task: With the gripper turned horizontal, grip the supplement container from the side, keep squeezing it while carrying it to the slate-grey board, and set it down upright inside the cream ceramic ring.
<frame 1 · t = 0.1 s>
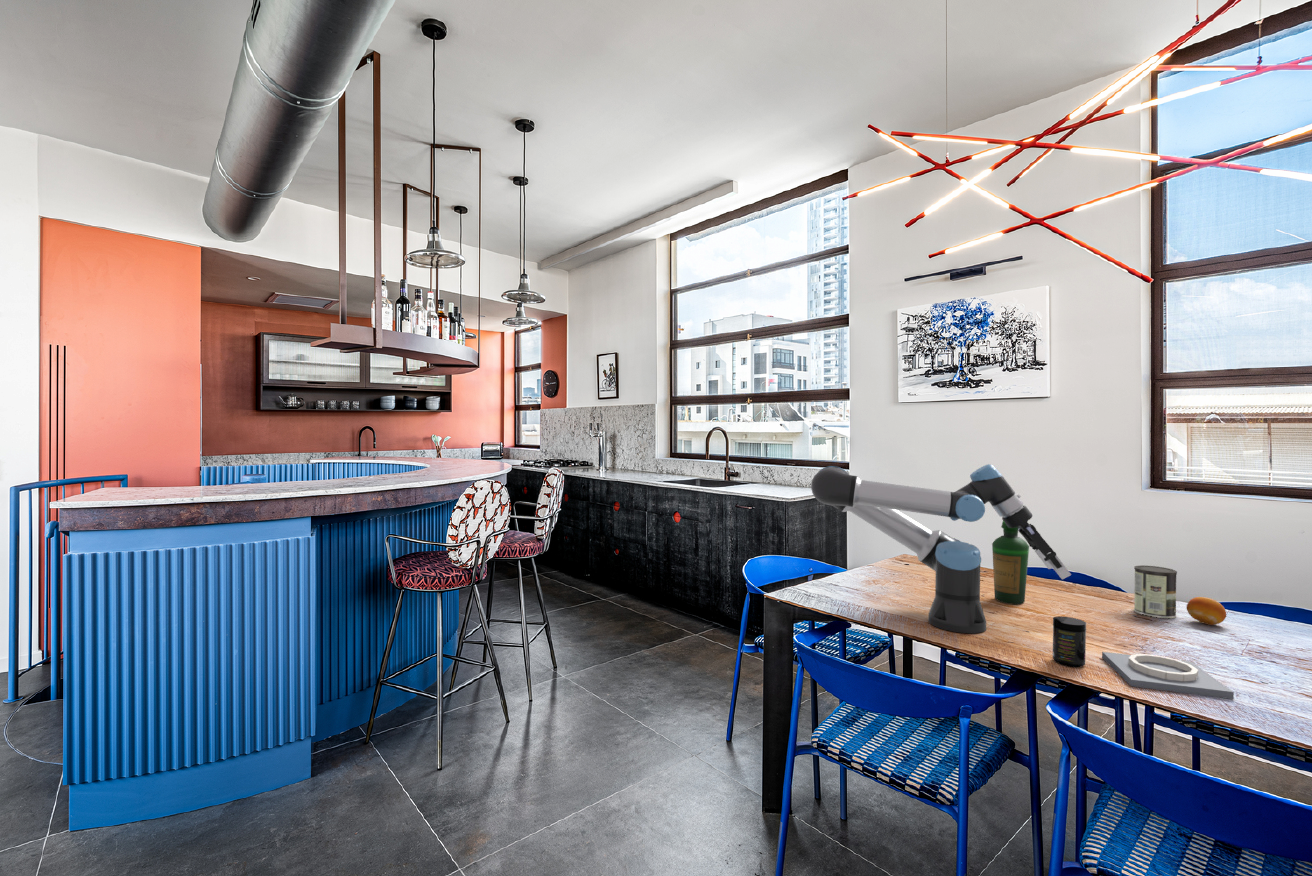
hand: (1059, 571, 178), 15 cm above the table, tool tilted 35°, fingers open, 13 cm apart
fruit: (1206, 624, 179), on the table
bottle: (1009, 601, 201), on the table
coffee can: (1154, 614, 189), on the table
supplement container: (1068, 663, 148), on the table
ring board: (1162, 676, 140), on the table
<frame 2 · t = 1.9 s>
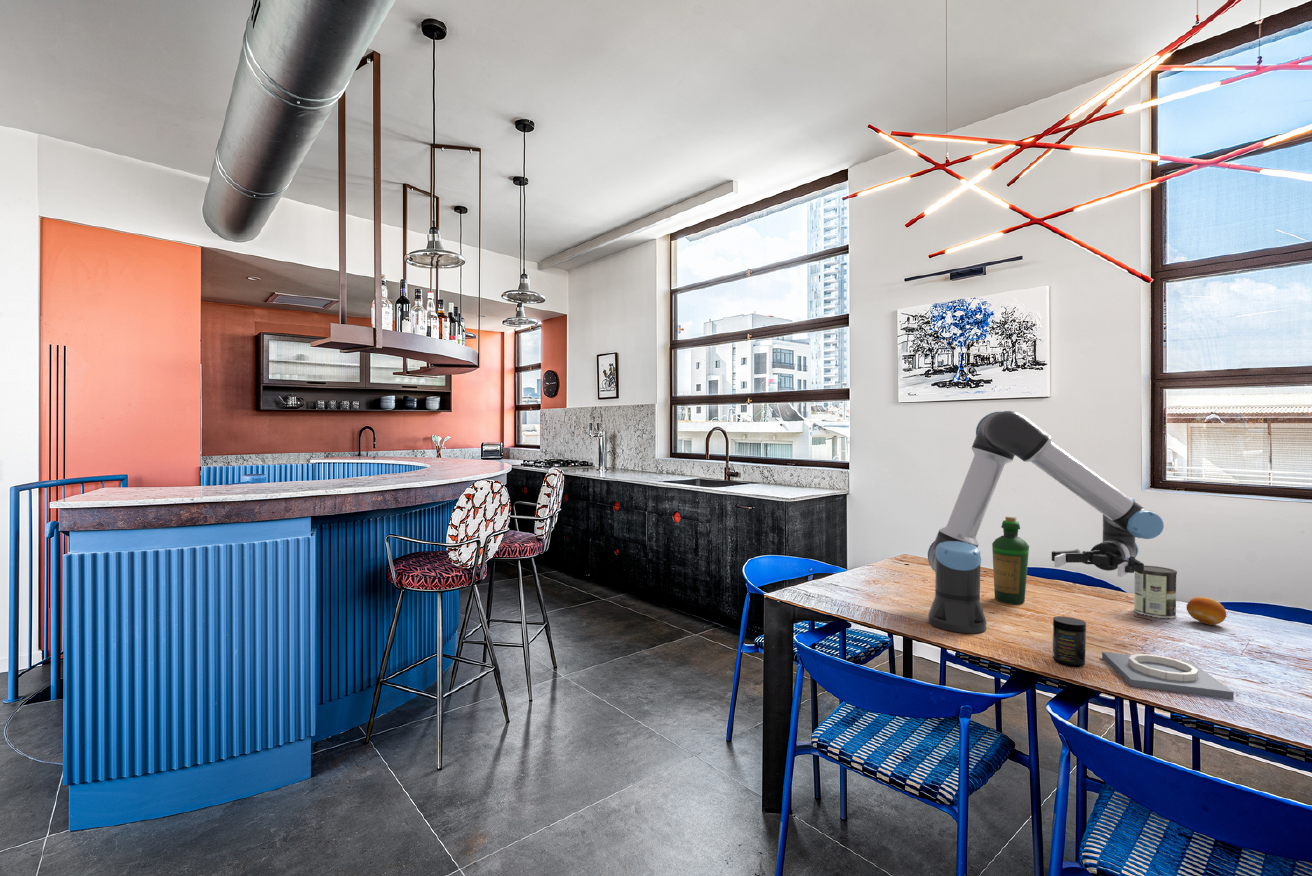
hand: (1086, 566, 155), 22 cm above the table, tool horizontal, fingers open, 13 cm apart
nothing on the table moved.
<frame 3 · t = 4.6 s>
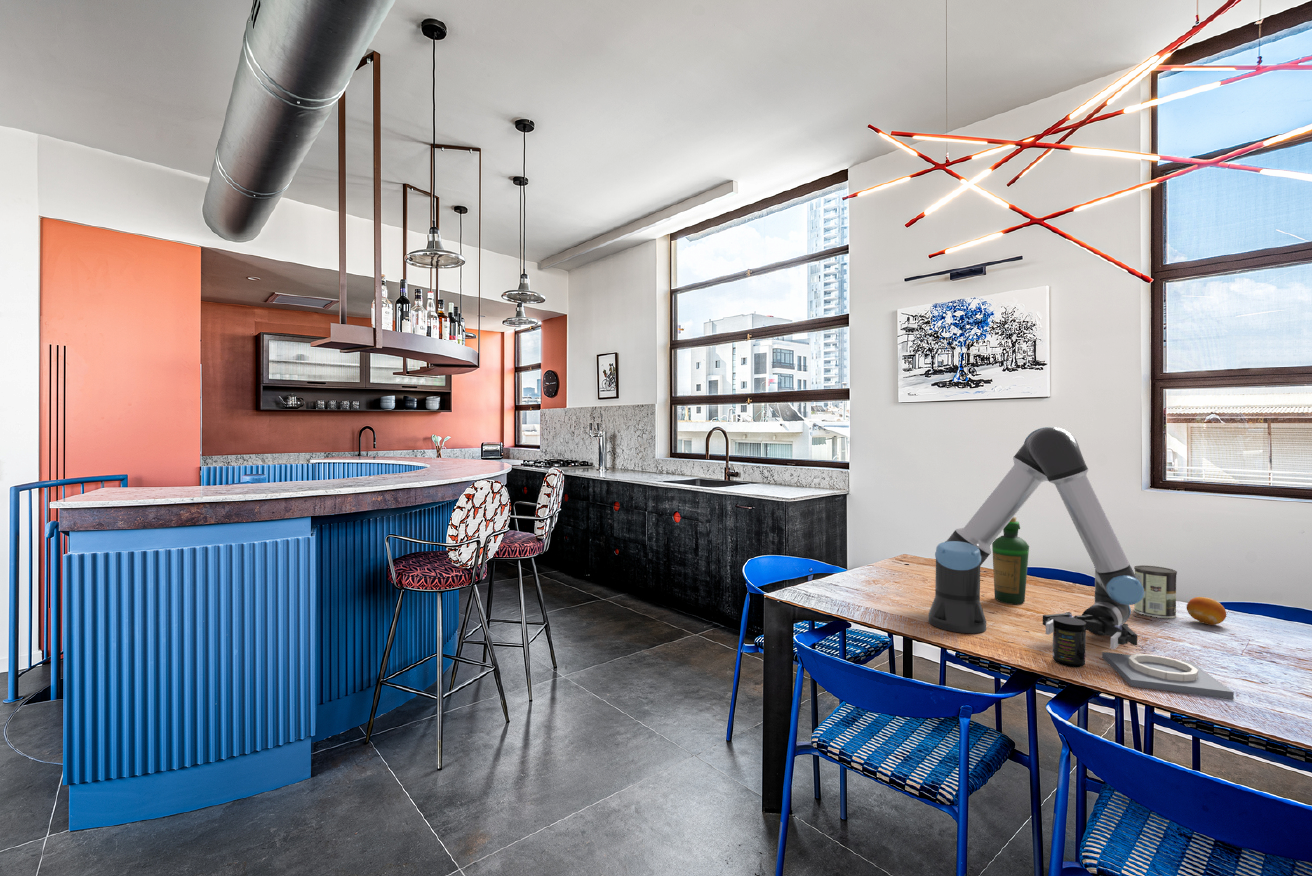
hand: (1078, 636, 150), 6 cm above the table, tool horizontal, fingers open, 13 cm apart
nothing on the table moved.
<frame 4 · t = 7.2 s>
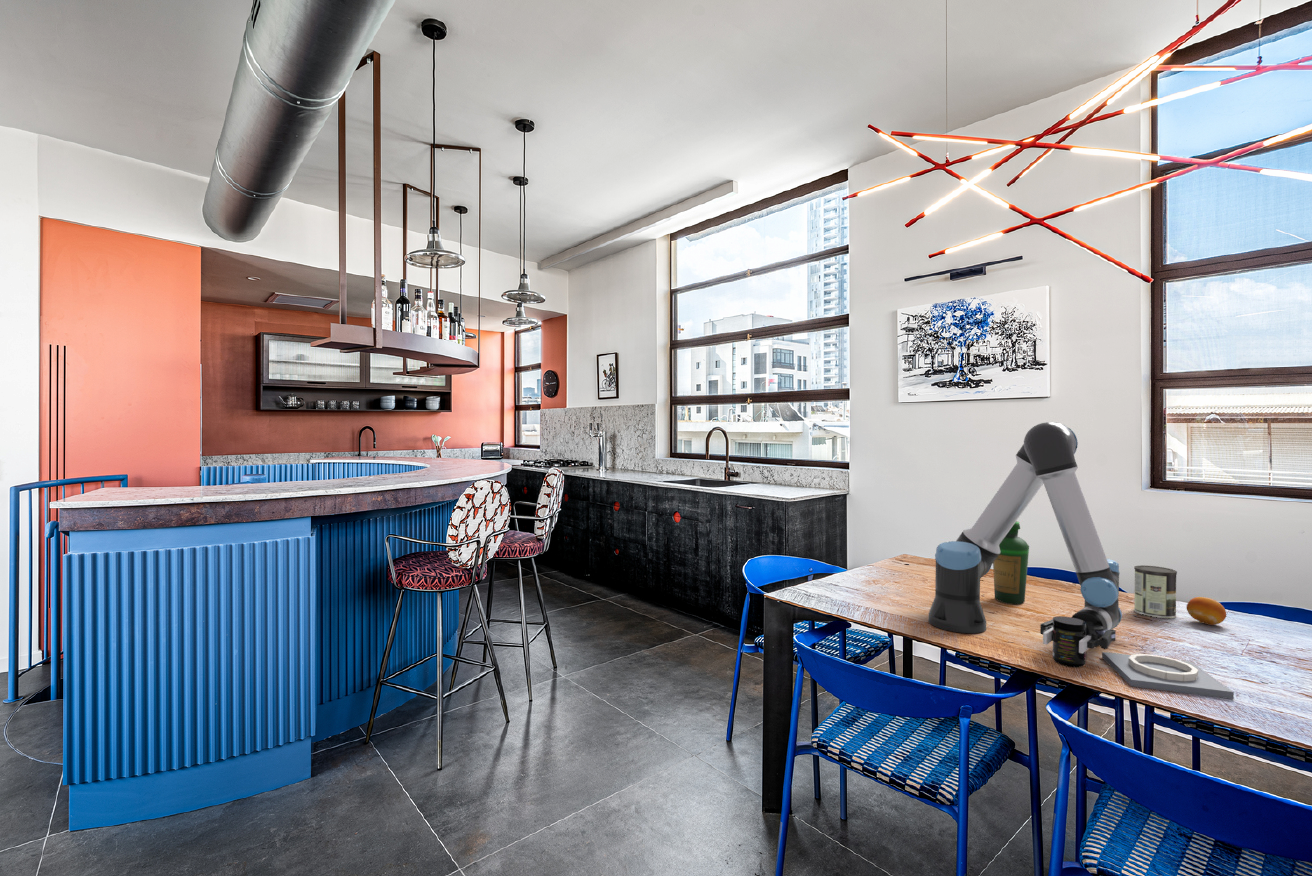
hand: (1062, 643, 144), 6 cm above the table, tool horizontal, fingers closed on supplement container, 7 cm apart
supplement container: (1068, 663, 148), on the table, touching gripper
everything else where it was.
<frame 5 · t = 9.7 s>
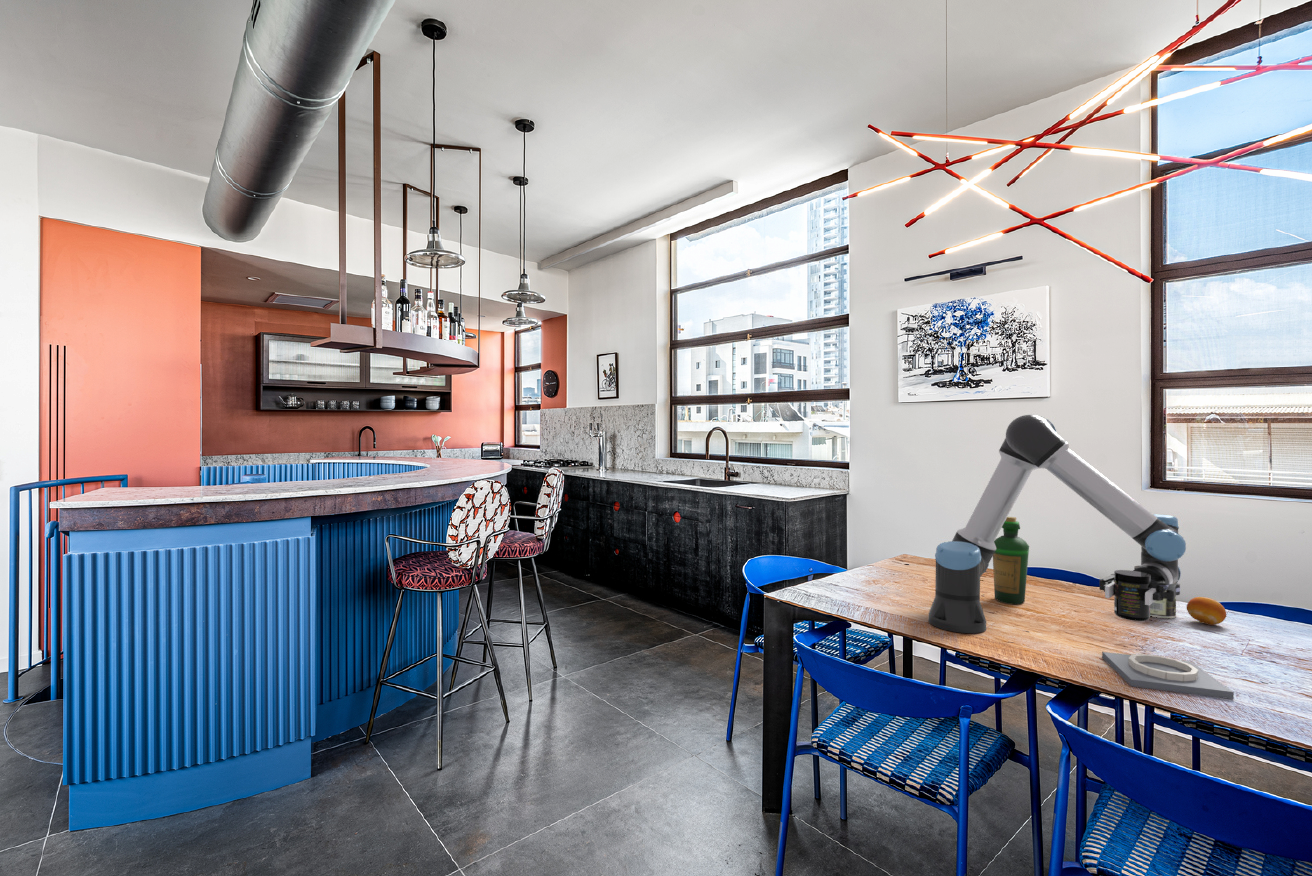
hand: (1126, 595, 138), 19 cm above the table, tool horizontal, fingers closed on supplement container, 7 cm apart
supplement container: (1131, 618, 142), point 13 cm above the table, touching gripper
everything else where it was.
when the fingers open (9 cm above the table, at t = 12.6 s): supplement container drops 1 cm, resting on ring board.
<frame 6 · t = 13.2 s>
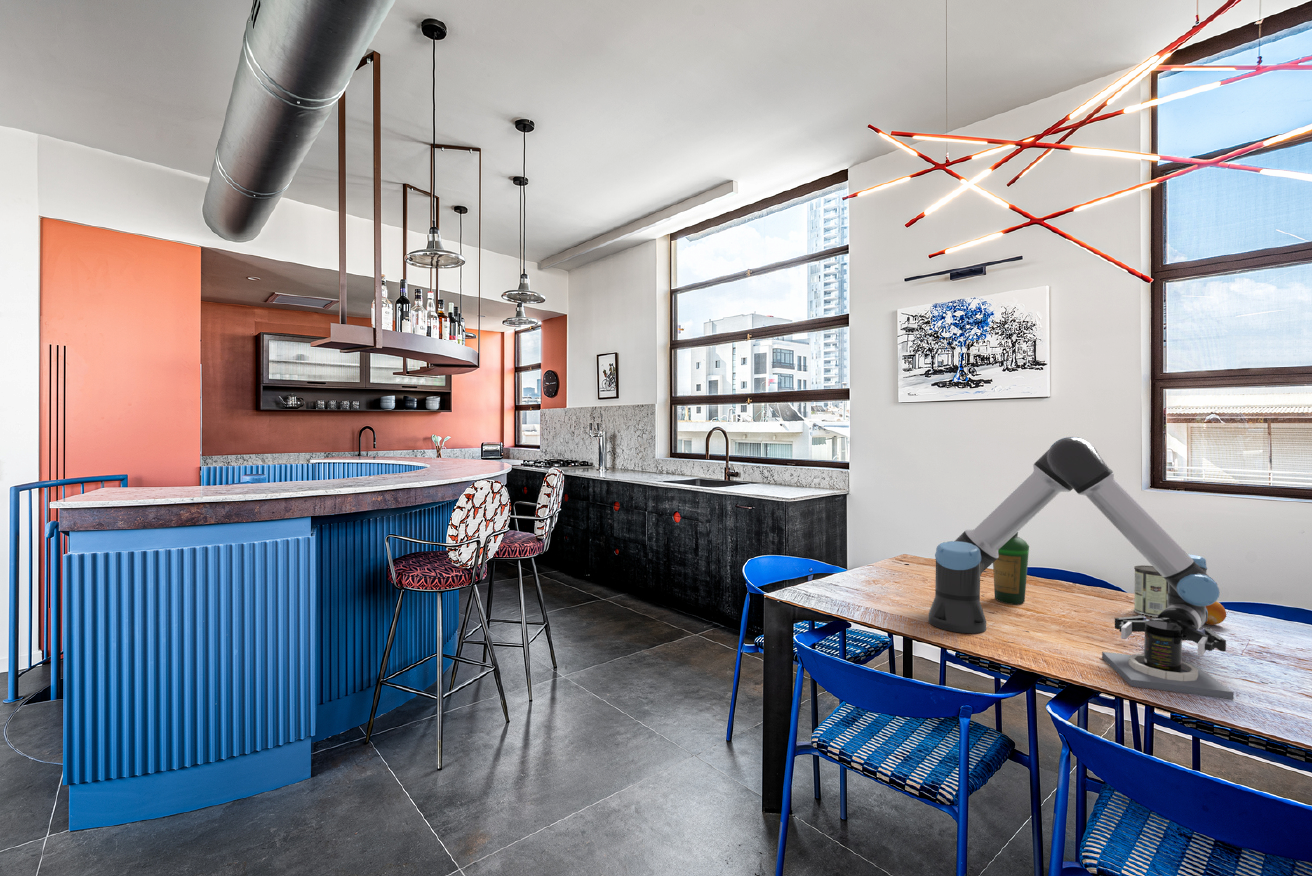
hand: (1160, 641, 137), 9 cm above the table, tool horizontal, fingers open, 13 cm apart
supplement container: (1162, 670, 140), point 1 cm above the table, touching ring board
everything else where it was.
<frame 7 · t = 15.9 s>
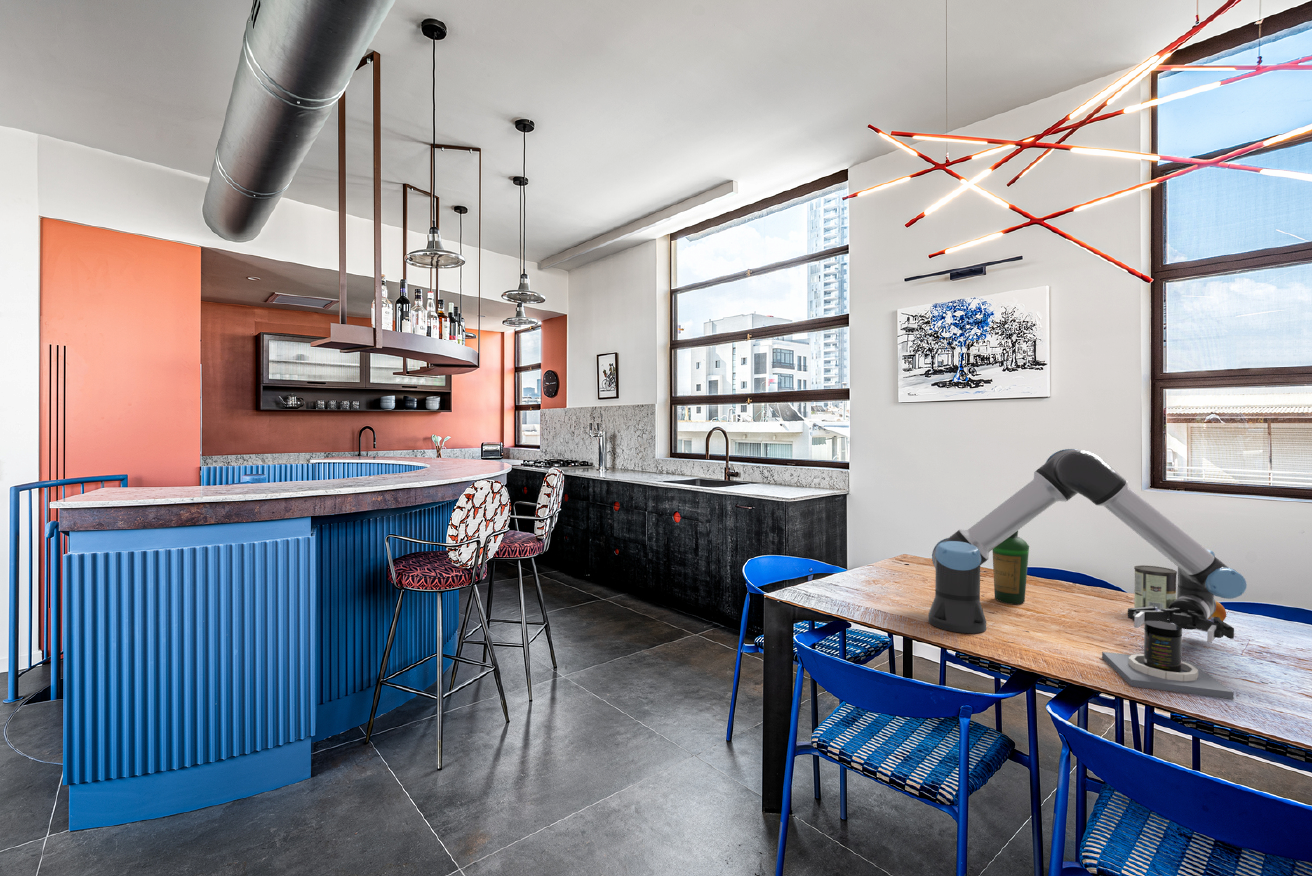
hand: (1171, 629, 146), 9 cm above the table, tool horizontal, fingers open, 13 cm apart
nothing on the table moved.
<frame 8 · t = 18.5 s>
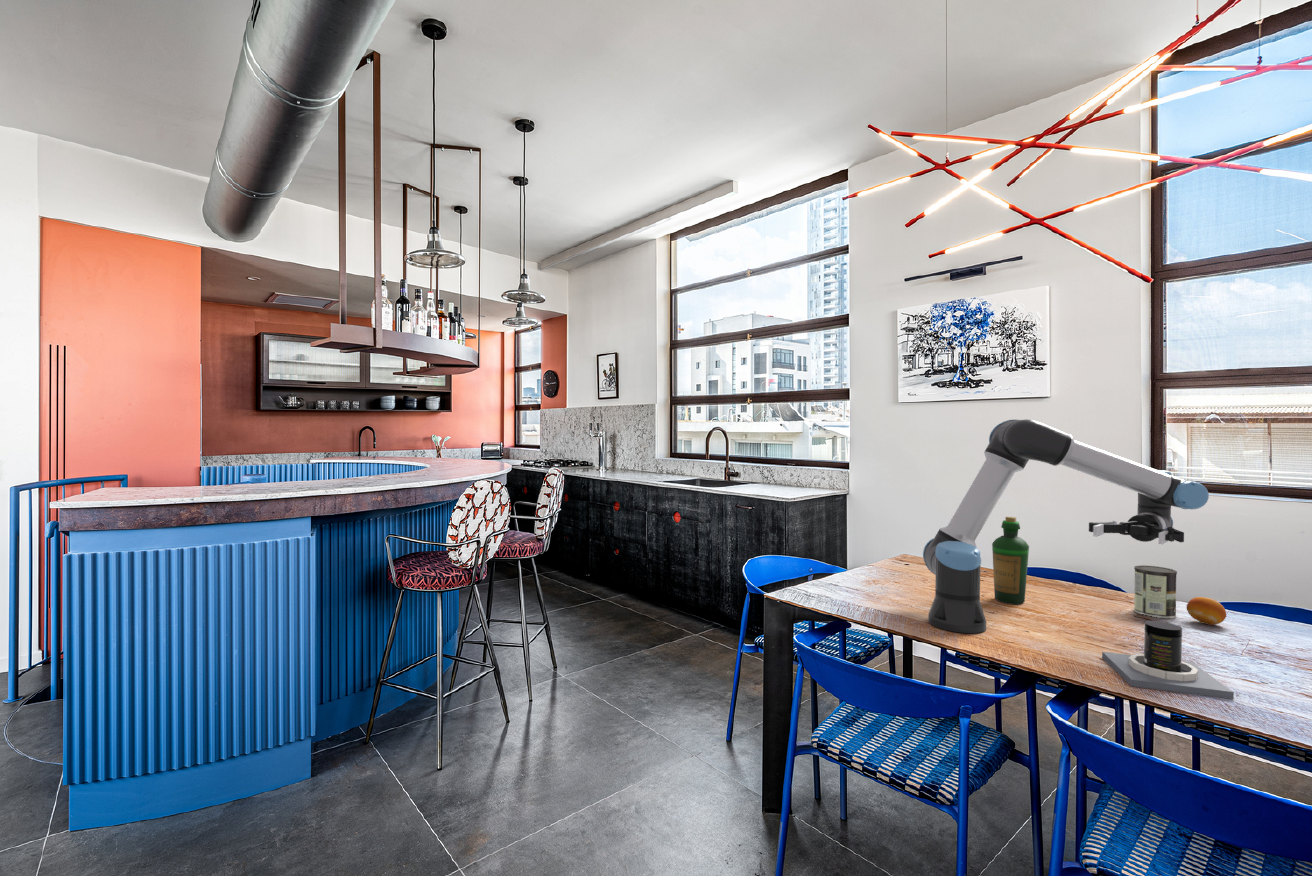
hand: (1126, 535, 156), 30 cm above the table, tool horizontal, fingers open, 13 cm apart
nothing on the table moved.
at the end: supplement container 0.1 cm off-centre on the ring board, point 1.3 cm above the ring board's base; supplement container tilted 1°; the gripper is holding nothing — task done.
